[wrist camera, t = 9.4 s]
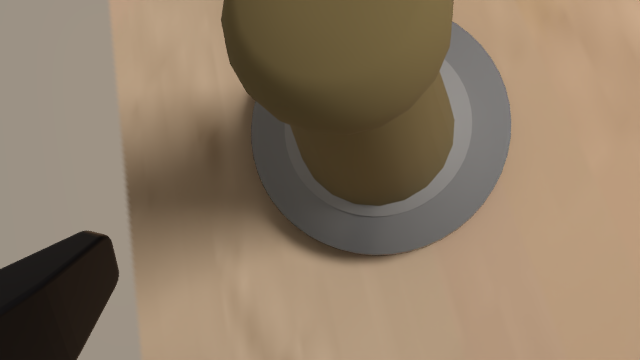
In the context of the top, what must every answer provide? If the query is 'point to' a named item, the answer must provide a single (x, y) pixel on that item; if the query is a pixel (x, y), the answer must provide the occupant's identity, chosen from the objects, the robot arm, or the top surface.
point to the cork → (351, 87)
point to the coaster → (426, 205)
